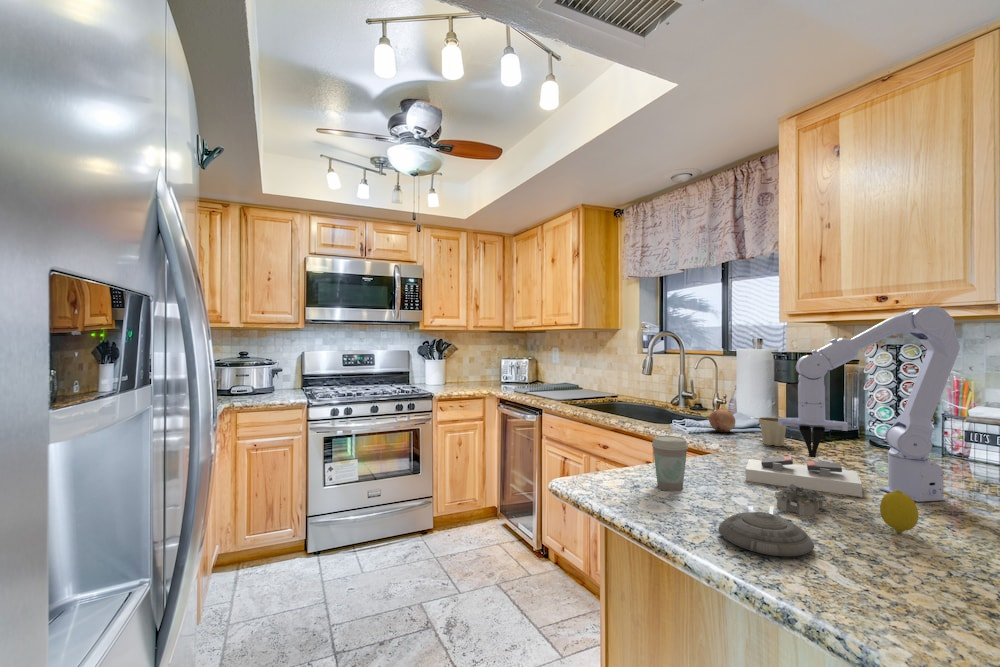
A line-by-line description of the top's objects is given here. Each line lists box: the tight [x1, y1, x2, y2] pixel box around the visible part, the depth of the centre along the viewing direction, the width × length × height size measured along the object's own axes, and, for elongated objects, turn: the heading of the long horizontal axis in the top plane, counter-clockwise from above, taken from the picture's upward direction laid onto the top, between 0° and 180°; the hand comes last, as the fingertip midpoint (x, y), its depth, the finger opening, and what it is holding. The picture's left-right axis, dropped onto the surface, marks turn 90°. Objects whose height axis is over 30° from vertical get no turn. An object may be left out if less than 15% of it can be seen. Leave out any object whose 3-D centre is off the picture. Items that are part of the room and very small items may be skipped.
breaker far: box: [761, 455, 794, 466], centre depth 124 cm, size 7×5×2 cm
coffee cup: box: [651, 435, 689, 492], centre depth 117 cm, size 8×8×12 cm
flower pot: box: [757, 416, 787, 447], centre depth 164 cm, size 9×9×9 cm
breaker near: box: [806, 460, 843, 472], centre depth 119 cm, size 7×5×2 cm
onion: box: [708, 407, 736, 434], centre depth 186 cm, size 10×9×10 cm
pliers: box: [817, 456, 847, 470], centre depth 135 cm, size 10×2×15 cm
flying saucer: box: [718, 511, 815, 557], centre depth 85 cm, size 15×15×6 cm
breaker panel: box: [745, 456, 863, 498], centre depth 121 cm, size 24×12×5 cm, turn 58°
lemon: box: [879, 490, 919, 534], centre depth 90 cm, size 6×6×8 cm
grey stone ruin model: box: [774, 484, 826, 517], centre depth 103 cm, size 11×8×4 cm
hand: (812, 456), depth 120 cm, fingers closed
